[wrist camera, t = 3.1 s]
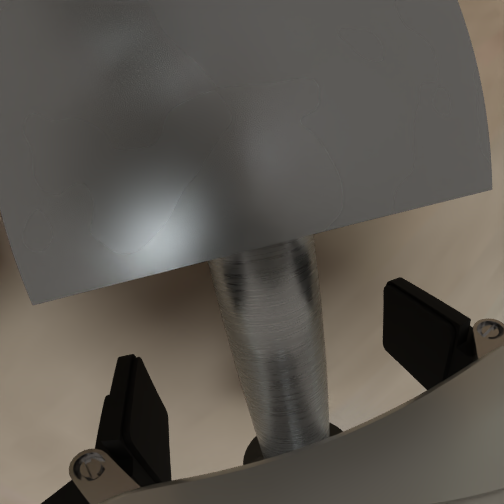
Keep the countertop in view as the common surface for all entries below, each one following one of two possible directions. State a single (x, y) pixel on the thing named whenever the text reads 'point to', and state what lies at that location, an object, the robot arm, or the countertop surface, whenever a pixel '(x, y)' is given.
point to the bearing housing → (223, 127)
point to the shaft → (277, 343)
